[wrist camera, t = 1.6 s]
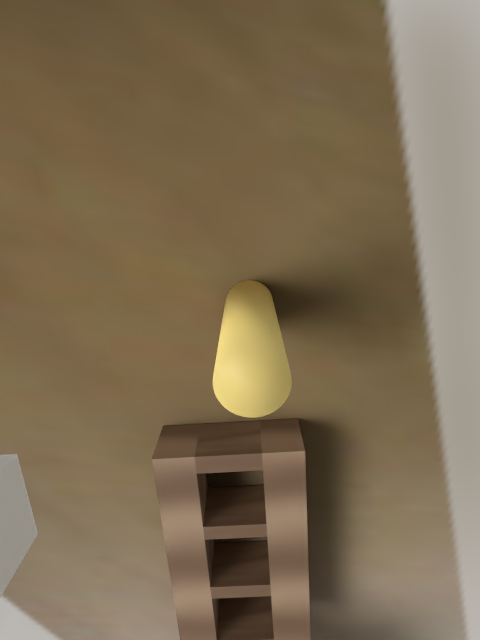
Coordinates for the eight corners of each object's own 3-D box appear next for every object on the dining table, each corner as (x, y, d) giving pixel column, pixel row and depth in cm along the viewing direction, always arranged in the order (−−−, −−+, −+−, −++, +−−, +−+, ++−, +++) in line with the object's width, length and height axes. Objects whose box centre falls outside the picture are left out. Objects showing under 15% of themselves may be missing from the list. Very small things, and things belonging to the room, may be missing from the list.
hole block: (163, 426, 32) (151, 459, 28) (297, 418, 31) (305, 451, 27) (189, 606, 37) (182, 654, 33) (303, 601, 37) (310, 649, 33)
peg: (223, 281, 28) (209, 348, 17) (271, 278, 28) (290, 343, 17) (227, 327, 29) (216, 419, 18) (274, 324, 29) (293, 415, 18)
